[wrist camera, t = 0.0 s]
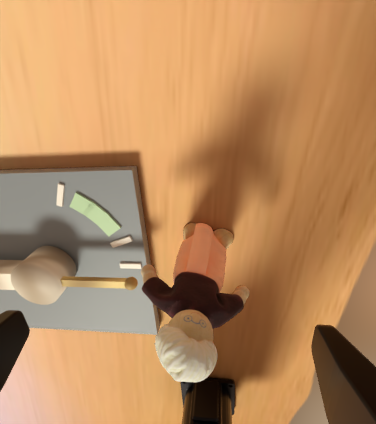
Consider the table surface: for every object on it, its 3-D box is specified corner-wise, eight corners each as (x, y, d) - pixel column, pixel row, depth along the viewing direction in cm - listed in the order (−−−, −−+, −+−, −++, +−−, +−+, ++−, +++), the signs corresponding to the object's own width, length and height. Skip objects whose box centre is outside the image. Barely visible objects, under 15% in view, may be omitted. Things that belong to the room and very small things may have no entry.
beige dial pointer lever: (141, 246, 23) (131, 266, 20) (147, 286, 25) (139, 308, 22) (-50, 244, 25) (-80, 261, 23) (-31, 280, 27) (-57, 300, 25)
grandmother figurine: (246, 220, 22) (273, 359, 11) (242, 257, 24) (261, 412, 12) (158, 215, 23) (95, 340, 12) (159, 252, 25) (107, 392, 13)
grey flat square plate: (160, 325, 29) (157, 336, 28) (12, 317, 31) (3, 327, 30) (136, 165, 21) (131, 170, 20) (-56, 171, 24) (-72, 176, 22)
